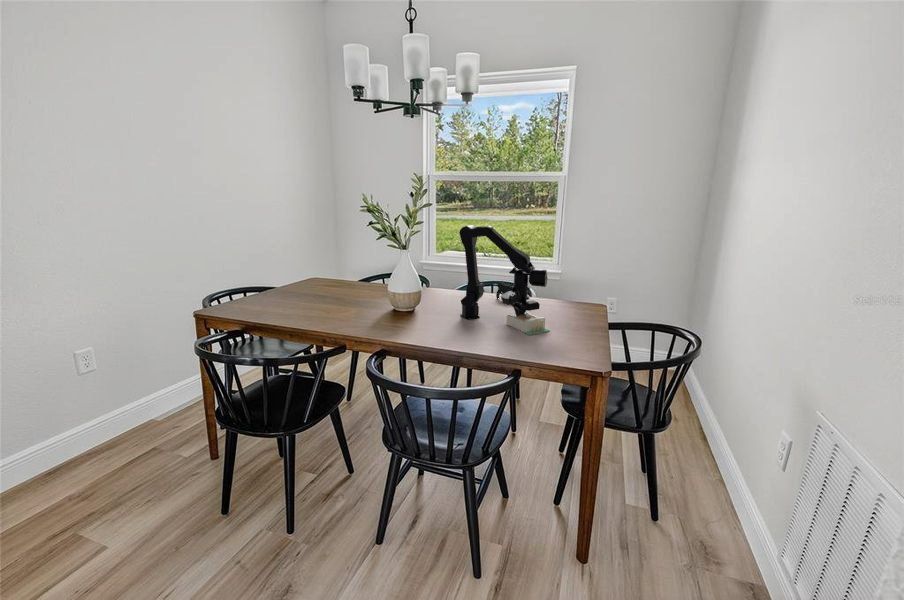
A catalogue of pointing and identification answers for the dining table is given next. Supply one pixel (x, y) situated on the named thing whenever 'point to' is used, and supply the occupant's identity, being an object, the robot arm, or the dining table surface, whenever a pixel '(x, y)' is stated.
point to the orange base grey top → (524, 317)
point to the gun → (502, 288)
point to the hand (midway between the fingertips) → (518, 320)
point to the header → (528, 324)
